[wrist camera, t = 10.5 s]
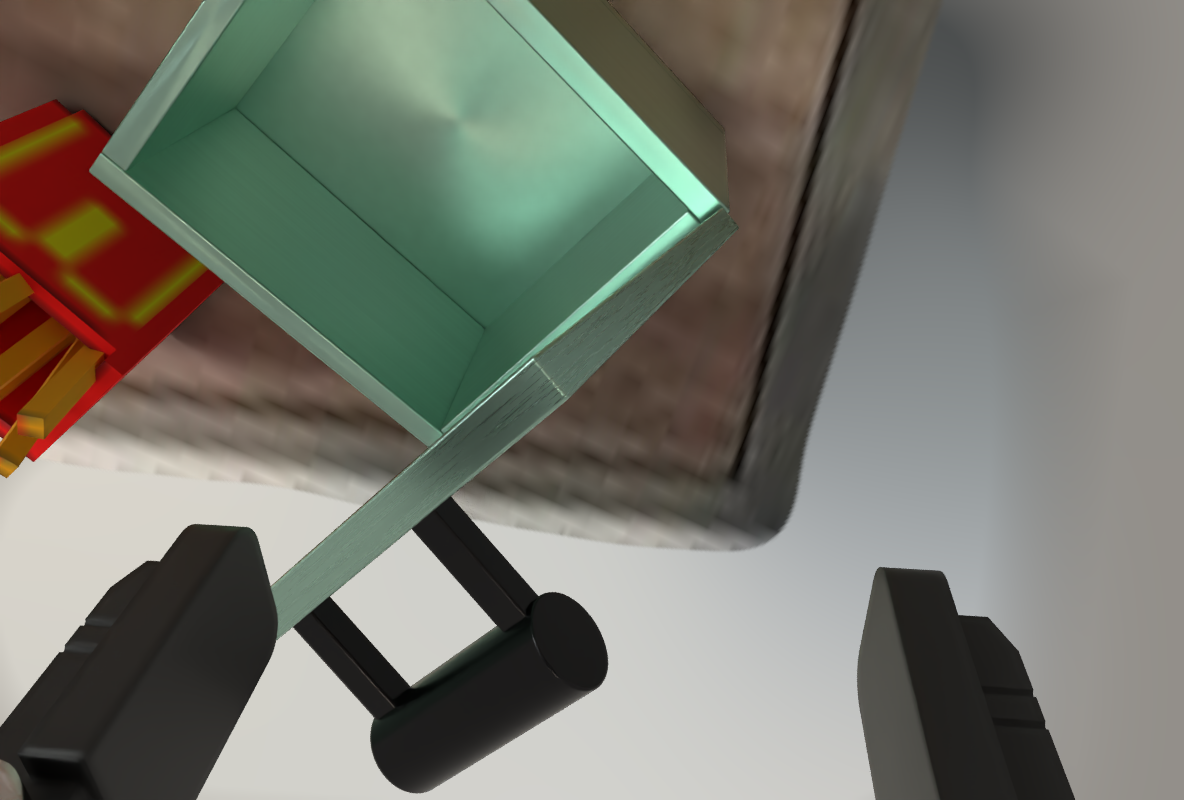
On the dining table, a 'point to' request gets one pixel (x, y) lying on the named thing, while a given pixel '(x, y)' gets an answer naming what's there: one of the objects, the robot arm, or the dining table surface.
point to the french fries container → (75, 280)
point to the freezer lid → (477, 562)
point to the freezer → (418, 178)
